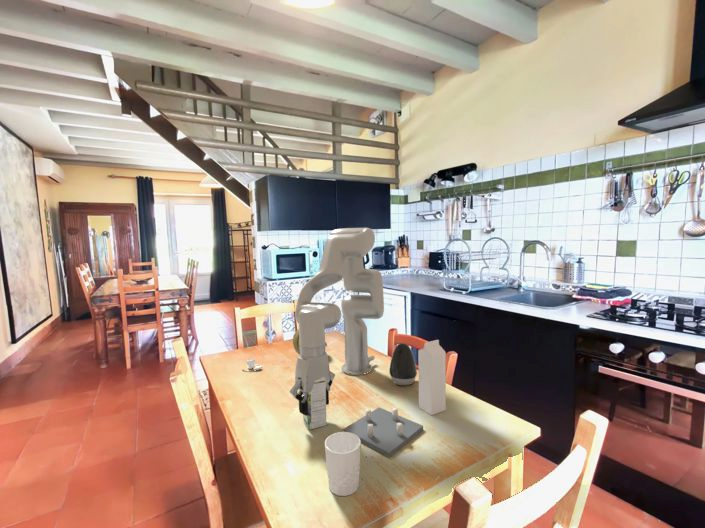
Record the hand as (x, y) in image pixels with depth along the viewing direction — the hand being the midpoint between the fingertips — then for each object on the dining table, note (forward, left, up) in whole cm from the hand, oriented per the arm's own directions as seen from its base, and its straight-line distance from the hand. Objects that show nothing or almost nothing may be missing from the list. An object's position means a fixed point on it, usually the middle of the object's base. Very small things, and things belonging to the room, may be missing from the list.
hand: (314, 408), depth 98 cm
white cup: (+12, +24, -5) cm, 27 cm away
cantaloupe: (-36, -47, -5) cm, 59 cm away
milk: (-30, +22, -5) cm, 38 cm away
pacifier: (-8, -52, -5) cm, 53 cm away
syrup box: (0, 0, -5) cm, 5 cm away
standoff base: (-10, +18, -5) cm, 21 cm away
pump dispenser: (-40, +4, -5) cm, 40 cm away
